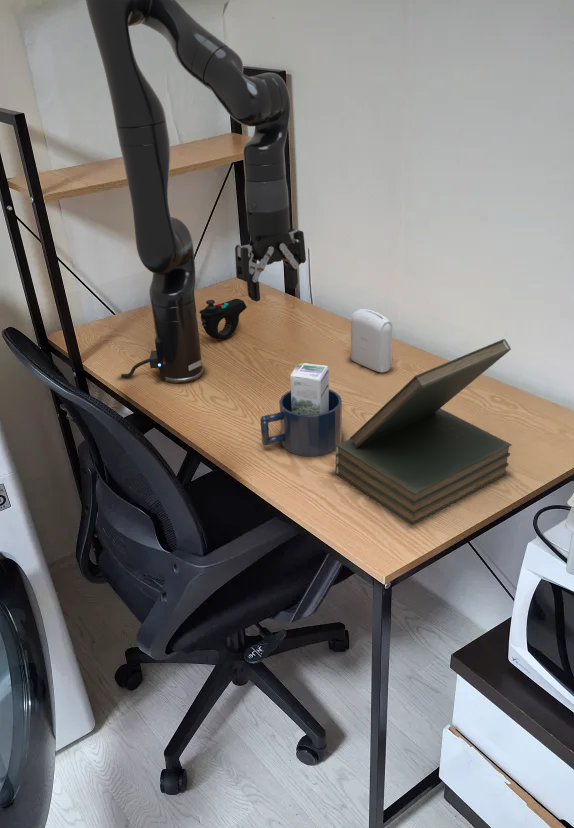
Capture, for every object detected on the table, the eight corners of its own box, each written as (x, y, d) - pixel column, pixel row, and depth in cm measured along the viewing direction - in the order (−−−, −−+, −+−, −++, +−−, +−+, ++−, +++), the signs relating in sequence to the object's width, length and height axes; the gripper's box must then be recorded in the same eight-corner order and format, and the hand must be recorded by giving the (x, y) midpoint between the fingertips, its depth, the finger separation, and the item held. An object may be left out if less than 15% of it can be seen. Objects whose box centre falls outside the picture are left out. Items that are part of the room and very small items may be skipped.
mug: (326, 420, 154) (326, 381, 149) (351, 448, 146) (351, 407, 141) (252, 438, 150) (249, 398, 145) (273, 467, 142) (271, 426, 137)
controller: (199, 342, 187) (195, 302, 181) (239, 327, 193) (236, 287, 188) (210, 347, 184) (206, 307, 178) (250, 331, 191) (247, 292, 185)
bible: (427, 431, 150) (437, 306, 135) (507, 474, 137) (527, 342, 122) (335, 473, 139) (334, 343, 124) (412, 525, 126) (422, 386, 111)
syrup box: (330, 433, 150) (329, 364, 141) (321, 448, 145) (320, 378, 137) (301, 429, 151) (299, 360, 143) (292, 444, 147) (289, 374, 138)
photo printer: (347, 360, 176) (348, 308, 169) (361, 354, 178) (362, 302, 171) (380, 375, 169) (381, 321, 162) (394, 369, 171) (396, 315, 164)
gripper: (286, 192, 142) (291, 279, 152) (221, 209, 136) (231, 299, 145) (312, 199, 137) (315, 289, 147) (246, 217, 131) (254, 310, 140)
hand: (273, 294), depth 146 cm, fingers open, 8 cm apart
